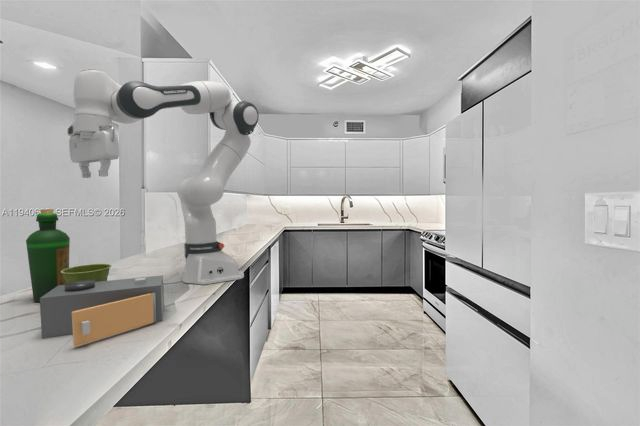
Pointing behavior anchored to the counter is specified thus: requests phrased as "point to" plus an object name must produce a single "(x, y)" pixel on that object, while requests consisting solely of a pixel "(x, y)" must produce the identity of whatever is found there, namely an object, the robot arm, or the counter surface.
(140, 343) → the counter surface
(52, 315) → the grey cabinet
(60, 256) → the bottle
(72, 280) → the plant pot
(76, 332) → the side door
